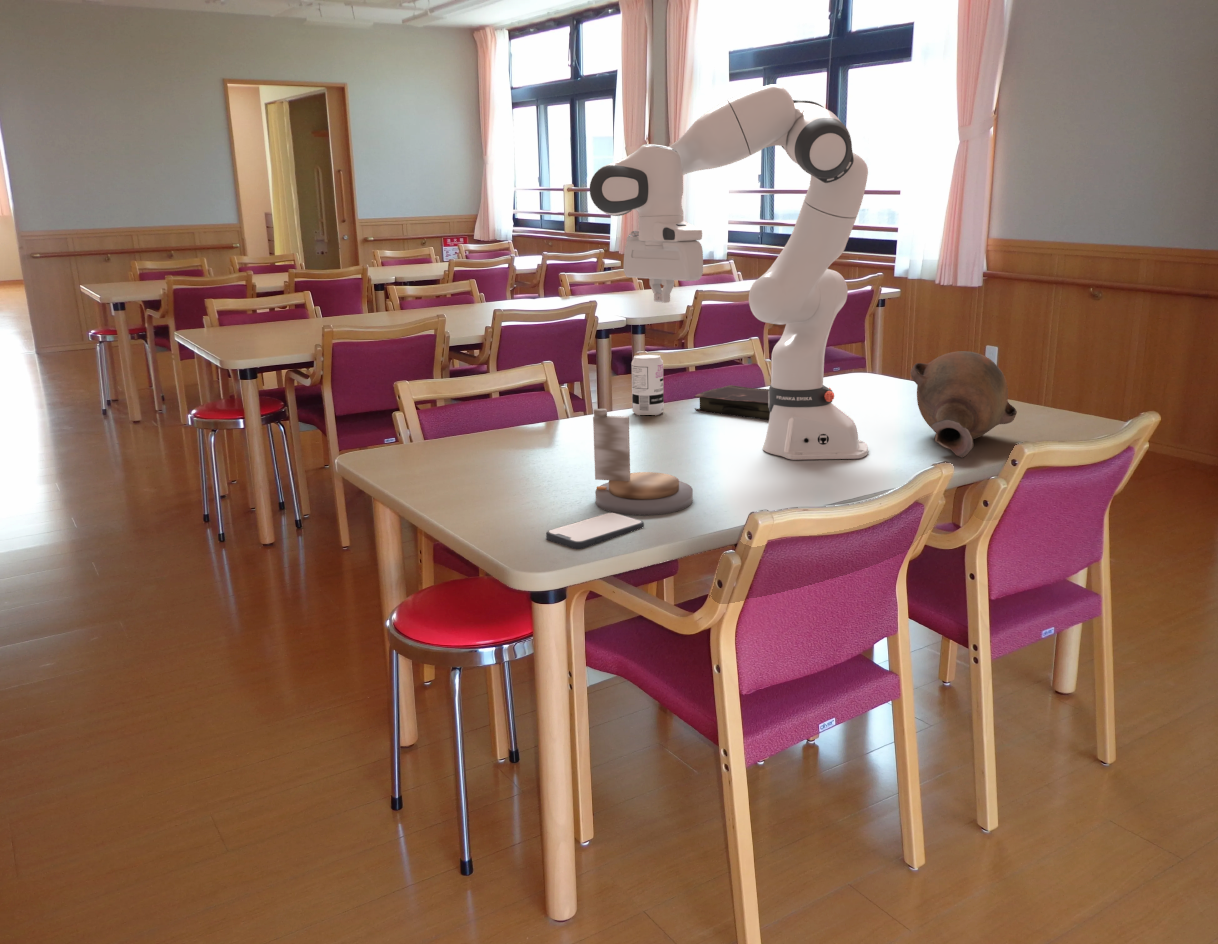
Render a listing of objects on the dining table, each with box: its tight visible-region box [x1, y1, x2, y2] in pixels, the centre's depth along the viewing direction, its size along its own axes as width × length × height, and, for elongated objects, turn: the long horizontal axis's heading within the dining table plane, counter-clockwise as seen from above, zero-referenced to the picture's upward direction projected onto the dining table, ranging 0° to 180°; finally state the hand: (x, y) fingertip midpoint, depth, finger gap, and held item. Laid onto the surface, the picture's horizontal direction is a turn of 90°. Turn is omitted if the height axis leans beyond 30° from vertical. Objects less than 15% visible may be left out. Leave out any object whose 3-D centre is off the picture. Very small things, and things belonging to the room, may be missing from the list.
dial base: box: [594, 480, 694, 516], centre depth 184 cm, size 18×18×2 cm
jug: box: [909, 350, 1018, 458], centre depth 217 cm, size 20×20×30 cm
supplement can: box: [630, 353, 665, 416], centre depth 258 cm, size 8×8×15 cm
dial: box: [592, 408, 680, 499], centre depth 182 cm, size 16×13×15 cm
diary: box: [694, 384, 770, 422], centre depth 259 cm, size 19×25×5 cm
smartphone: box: [545, 512, 645, 550], centre depth 167 cm, size 9×2×16 cm
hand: (662, 302), depth 198 cm, fingers closed
